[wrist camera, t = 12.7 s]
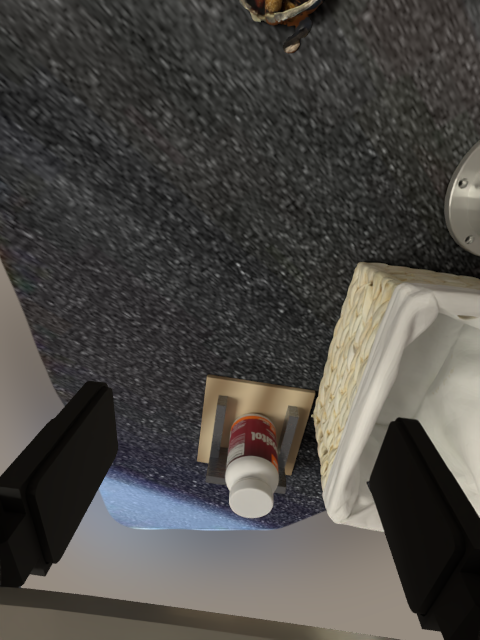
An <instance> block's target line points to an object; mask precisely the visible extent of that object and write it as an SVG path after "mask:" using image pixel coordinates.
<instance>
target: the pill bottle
mask: <svg viewBox="0 0 480 640" xmlns="http://www.w3.org/2000/svg"><path fill="white" fill-rule="evenodd" d="M225 480H226V484H227V487H228V489H229V490H230V496H229V504H230V507H231V509H232V510H233V511H234V512H235V513H236V514H238V515H240V516H243V517H247V518H257V517H261V516H264V515H266V514H268V513H269V512H270V511H271V509H272V507H273V493H274V492H275V490H276V489H277V486H278V483H279V474H278V457H277V441H276V429H275V426H274V424H273V423H272V422H271V421H270V420H269V419H268V418H267V417H265V416H262V415H259V414H245V415H243V416H241V417H239V418H237V419H236V420H235V421H234V423H233V425H232V427H231V432H230V440H229V449H228V457H227V465H226V474H225Z"/></svg>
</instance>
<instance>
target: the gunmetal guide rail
mask: <svg viewBox="0 0 480 640" xmlns="http://www.w3.org/2000/svg"><path fill="white" fill-rule="evenodd" d="M227 399H228V396H222V395H219V397H218V402H217V408H216V415H215V422H214V430H213V437H212V444H211V451H210V458H209V463H208V469H207V475H206V482H208V483H215V484H221V485H227V484H226V480H225V474H226V465H227V457H228V449H229V448H224V447H220V444H221V438H222V432H223V425H224V419H225V412H226V406H227ZM298 419H299V414H298V408H297V407H296V406H289V405H288V408H287V412H286V416H285V420H284V424H283V428H282V431H281V435H280V439H279V443H278V447H277V457H278V474H279V483H278V486H277V489H276V490H275V493H282V494H285V491H286V477H285V465H286V462H287V458H288V455H289V451H290V448H291V444H292V440H293V437H294V433H295V430H296V426H297V423H298Z"/></svg>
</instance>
